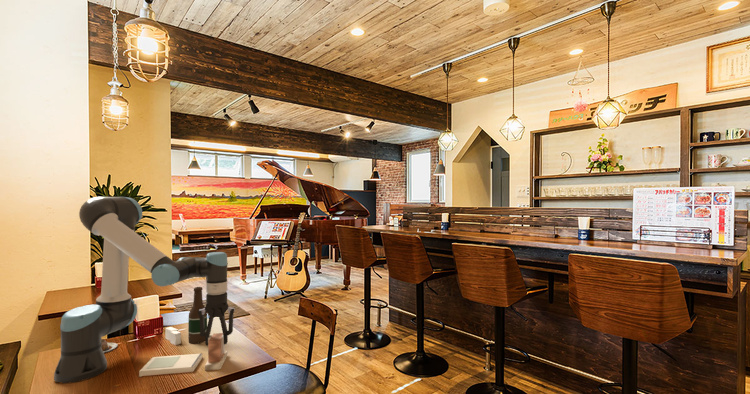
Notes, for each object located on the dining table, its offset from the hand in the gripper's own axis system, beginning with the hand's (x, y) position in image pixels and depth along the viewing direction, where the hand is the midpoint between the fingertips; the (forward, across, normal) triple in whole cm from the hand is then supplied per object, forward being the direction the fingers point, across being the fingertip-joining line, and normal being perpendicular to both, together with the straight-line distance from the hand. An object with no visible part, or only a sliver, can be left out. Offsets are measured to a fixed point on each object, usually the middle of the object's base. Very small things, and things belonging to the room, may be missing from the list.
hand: (216, 352), depth 142 cm
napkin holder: (+5, -25, +27) cm, 37 cm away
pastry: (+5, -52, +24) cm, 57 cm away
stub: (+4, 0, 0) cm, 4 cm away
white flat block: (+4, -16, 0) cm, 16 cm away
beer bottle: (+4, -14, +26) cm, 30 cm away
